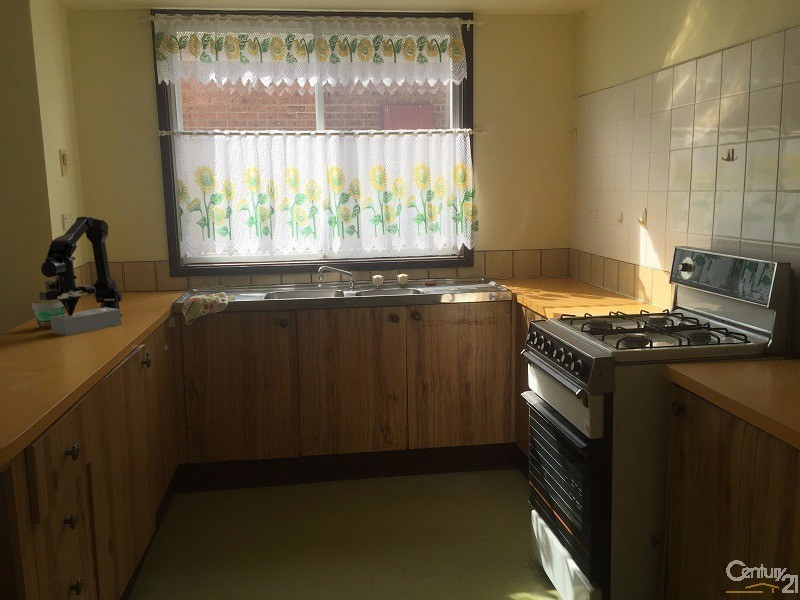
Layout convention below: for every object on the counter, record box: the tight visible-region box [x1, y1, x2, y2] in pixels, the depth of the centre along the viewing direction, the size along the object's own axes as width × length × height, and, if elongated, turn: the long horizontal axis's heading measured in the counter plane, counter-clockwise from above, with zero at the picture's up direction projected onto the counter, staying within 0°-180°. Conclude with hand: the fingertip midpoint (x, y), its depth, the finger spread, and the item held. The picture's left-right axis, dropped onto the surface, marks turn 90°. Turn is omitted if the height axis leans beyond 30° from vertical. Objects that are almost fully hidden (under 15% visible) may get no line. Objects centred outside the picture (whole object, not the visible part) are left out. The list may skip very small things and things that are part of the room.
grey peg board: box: [50, 307, 122, 337], centre depth 268 cm, size 22×10×6 cm, turn 143°
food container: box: [31, 301, 66, 330], centre depth 272 cm, size 12×6×10 cm, turn 105°
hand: (70, 315), depth 263 cm, fingers closed, pressing on birch peg
